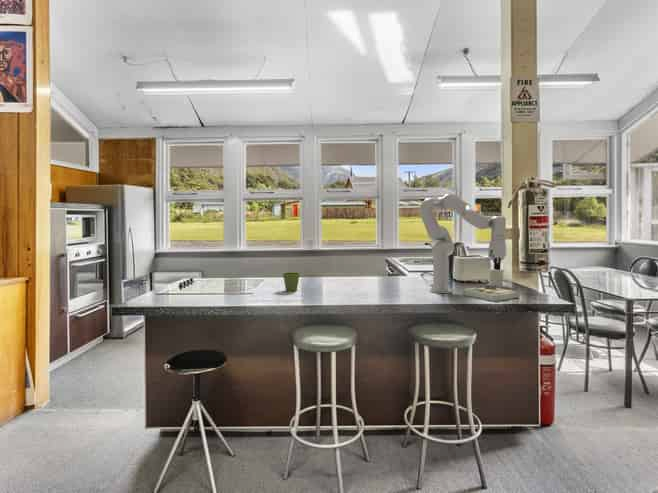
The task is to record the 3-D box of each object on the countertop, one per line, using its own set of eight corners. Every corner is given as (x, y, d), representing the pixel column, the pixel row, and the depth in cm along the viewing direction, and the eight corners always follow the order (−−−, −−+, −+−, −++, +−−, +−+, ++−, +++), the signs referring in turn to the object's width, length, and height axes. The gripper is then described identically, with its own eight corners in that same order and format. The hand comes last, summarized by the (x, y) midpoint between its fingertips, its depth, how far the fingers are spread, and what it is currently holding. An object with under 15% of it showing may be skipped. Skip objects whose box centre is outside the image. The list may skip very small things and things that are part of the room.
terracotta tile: (492, 293, 239) (492, 297, 239) (486, 294, 236) (486, 298, 236) (499, 294, 234) (499, 299, 234) (494, 295, 232) (493, 300, 232)
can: (493, 287, 273) (494, 269, 272) (485, 285, 282) (486, 267, 281) (506, 287, 275) (506, 269, 274) (497, 284, 284) (498, 267, 283)
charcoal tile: (484, 288, 254) (484, 284, 254) (489, 287, 257) (489, 283, 256) (490, 289, 250) (491, 285, 250) (496, 288, 252) (496, 284, 252)
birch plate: (477, 293, 253) (477, 288, 253) (489, 291, 259) (489, 287, 259) (505, 299, 236) (505, 294, 236) (517, 297, 241) (517, 292, 241)
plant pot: (302, 291, 262) (302, 274, 261) (284, 292, 259) (284, 275, 258) (298, 288, 273) (298, 271, 273) (280, 289, 270) (280, 272, 269)
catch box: (463, 295, 249) (463, 289, 249) (475, 293, 254) (475, 287, 254) (493, 301, 230) (493, 295, 230) (506, 299, 235) (506, 293, 235)
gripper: (501, 237, 243) (500, 268, 244) (483, 238, 235) (482, 269, 237) (512, 238, 236) (511, 269, 238) (494, 238, 229) (493, 271, 230)
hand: (497, 269), depth 237 cm, fingers closed
